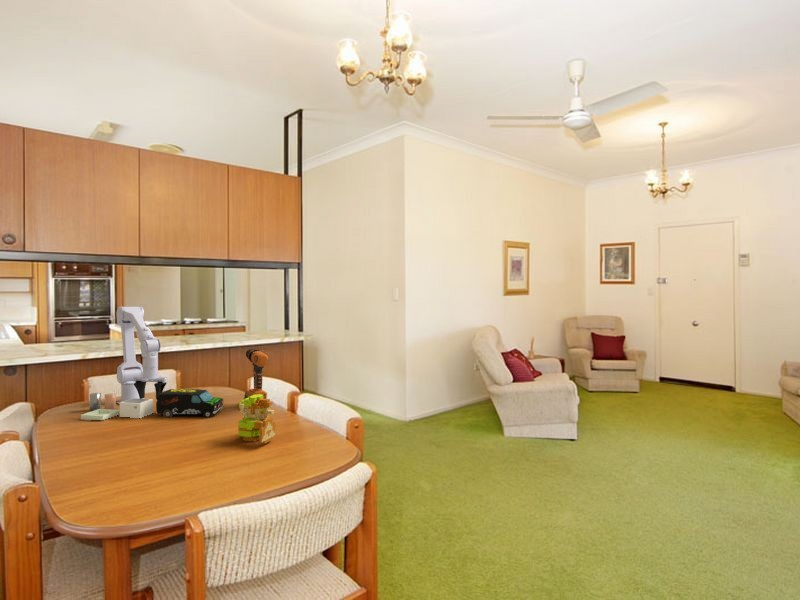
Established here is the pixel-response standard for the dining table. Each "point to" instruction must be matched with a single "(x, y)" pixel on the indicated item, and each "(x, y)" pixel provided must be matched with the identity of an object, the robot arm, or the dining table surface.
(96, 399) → the grey peg
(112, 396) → the terracotta peg
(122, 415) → the box
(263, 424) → the toy
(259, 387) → the power drill
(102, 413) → the tray
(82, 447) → the dining table surface
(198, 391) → the toy van
